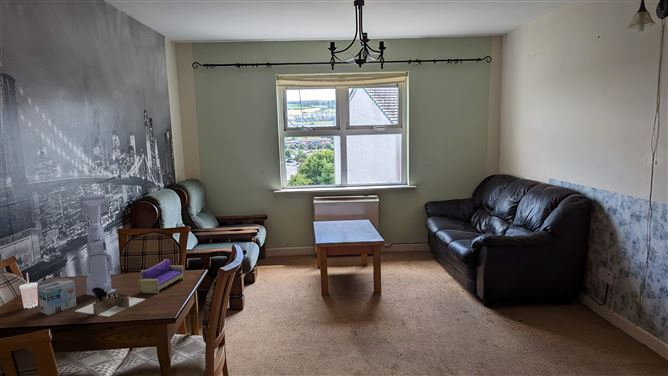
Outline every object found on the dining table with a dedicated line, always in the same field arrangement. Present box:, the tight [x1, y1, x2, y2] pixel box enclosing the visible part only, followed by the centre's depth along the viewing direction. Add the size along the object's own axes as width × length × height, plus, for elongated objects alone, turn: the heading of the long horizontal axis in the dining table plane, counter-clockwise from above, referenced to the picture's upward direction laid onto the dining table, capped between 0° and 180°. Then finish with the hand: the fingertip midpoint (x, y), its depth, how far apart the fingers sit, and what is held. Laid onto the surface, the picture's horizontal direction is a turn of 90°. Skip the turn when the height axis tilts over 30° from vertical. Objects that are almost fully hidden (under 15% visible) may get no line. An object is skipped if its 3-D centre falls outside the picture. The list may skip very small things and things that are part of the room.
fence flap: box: [93, 292, 117, 315], centre depth 163 cm, size 10×1×5 cm, turn 160°
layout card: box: [75, 294, 146, 317], centre depth 168 cm, size 18×18×1 cm
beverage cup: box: [18, 272, 39, 309], centre depth 170 cm, size 6×6×14 cm
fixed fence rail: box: [116, 292, 130, 309], centre depth 166 cm, size 5×1×5 cm, turn 69°
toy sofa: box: [139, 258, 185, 294], centre depth 190 cm, size 21×9×10 cm, turn 167°
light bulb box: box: [37, 278, 77, 316], centre depth 165 cm, size 11×7×11 cm, turn 148°
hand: (102, 305), depth 163 cm, fingers closed, pressing on fence flap
